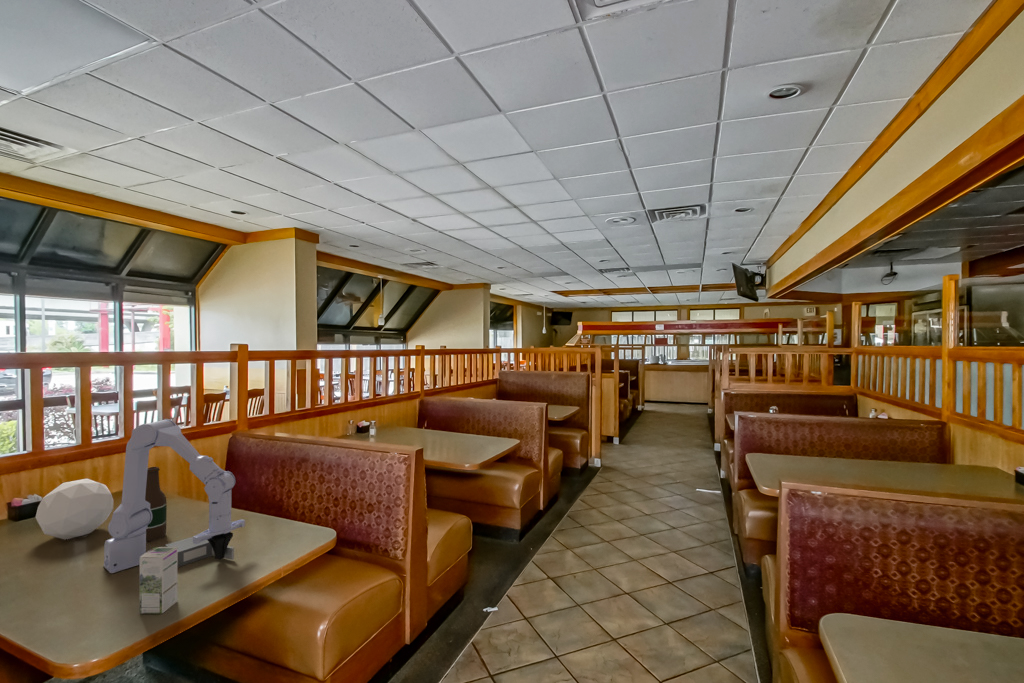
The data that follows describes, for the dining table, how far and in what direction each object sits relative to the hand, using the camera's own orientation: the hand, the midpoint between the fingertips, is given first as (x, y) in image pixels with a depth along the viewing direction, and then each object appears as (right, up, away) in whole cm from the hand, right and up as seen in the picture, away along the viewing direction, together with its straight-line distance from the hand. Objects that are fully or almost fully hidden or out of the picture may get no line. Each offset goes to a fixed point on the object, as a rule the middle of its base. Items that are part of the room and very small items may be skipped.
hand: (219, 558), depth 138 cm
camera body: (-11, -1, +4) cm, 12 cm away
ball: (-62, -1, +19) cm, 65 cm away
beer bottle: (-35, -1, +17) cm, 39 cm away
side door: (-1, -1, +3) cm, 3 cm away
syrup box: (0, -2, -24) cm, 24 cm away
